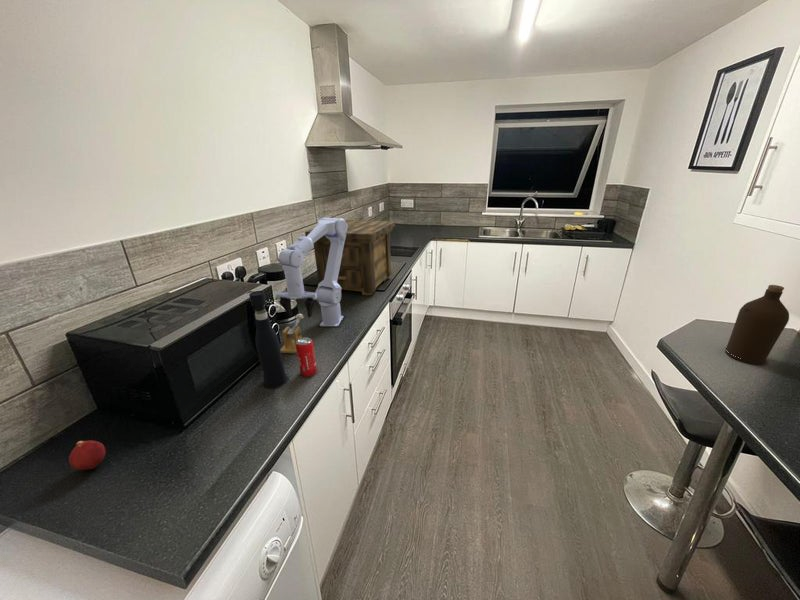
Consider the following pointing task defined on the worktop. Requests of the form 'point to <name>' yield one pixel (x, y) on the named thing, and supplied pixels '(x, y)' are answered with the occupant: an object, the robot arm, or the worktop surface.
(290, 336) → the tap lever
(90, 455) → the onion
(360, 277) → the crate
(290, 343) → the bracket
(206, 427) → the worktop surface
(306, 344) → the beverage can
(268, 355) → the black bottle
